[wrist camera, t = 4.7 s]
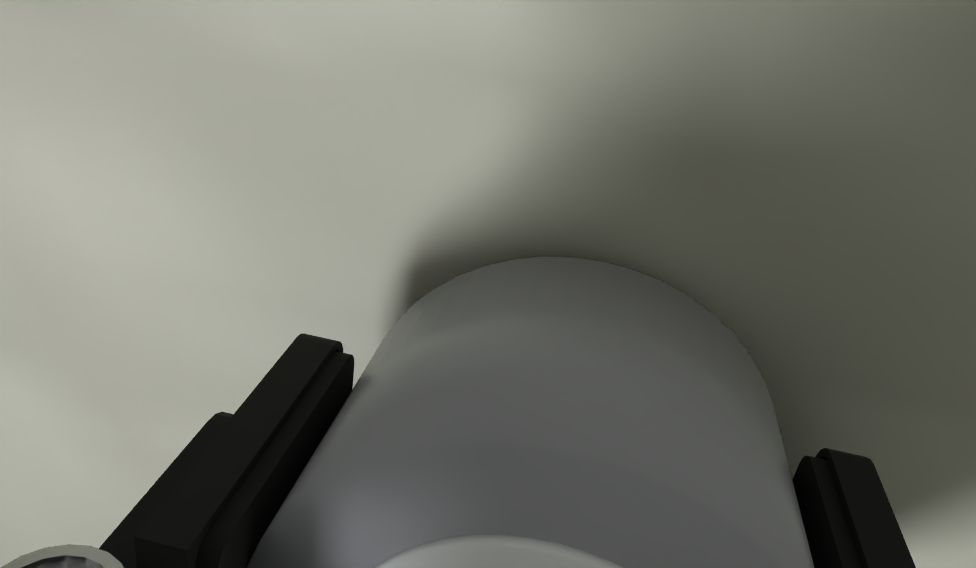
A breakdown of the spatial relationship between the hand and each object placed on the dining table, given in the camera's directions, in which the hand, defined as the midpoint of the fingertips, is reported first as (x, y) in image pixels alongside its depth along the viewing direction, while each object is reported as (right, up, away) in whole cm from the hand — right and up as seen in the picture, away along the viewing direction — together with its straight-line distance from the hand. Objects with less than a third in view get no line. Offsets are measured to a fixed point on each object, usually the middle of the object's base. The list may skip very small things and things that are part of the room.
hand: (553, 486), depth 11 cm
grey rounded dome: (0, 0, +1) cm, 1 cm away
